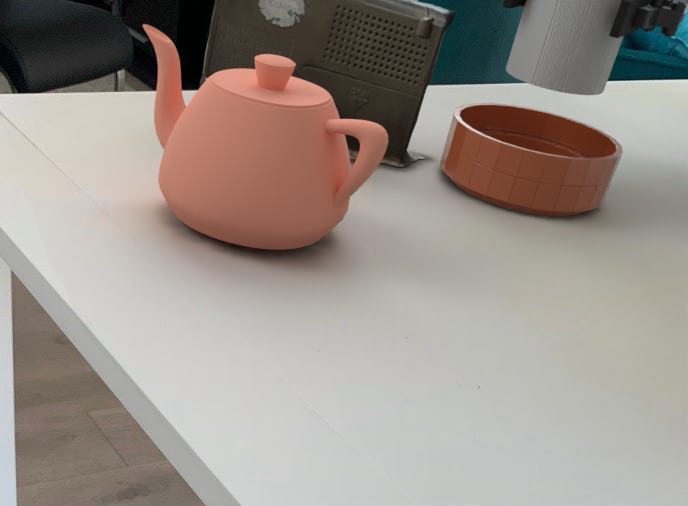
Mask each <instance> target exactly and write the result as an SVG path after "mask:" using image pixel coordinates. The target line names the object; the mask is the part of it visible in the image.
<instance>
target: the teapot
mask: <svg viewBox="0 0 688 506" xmlns="http://www.w3.org/2000/svg"><path fill="white" fill-rule="evenodd" d="M142 28H143V30H144V32H145V33H146V35H147V36H148V38H149V40H150V42H151V44H152V46H153V49H154V51H155V56H156V61H157V81H156V82H157V83H156V90H155V99H154V109H153V123H154V128H155V134H156V136H157V139H158V141H159V144H160V146H161V148H162V149H163V153H162V156H161V159H160V165H159V169H158V170H159V171H158V179H157V181H158V185H159V189H160V192H161V194H162V196H163V198H164V200H165V202H166V204H167V205H168V206H169V208H170V209H171V211H172V213H173V214H174V216H175V217H176V218H177V219H178V220H179V221H180V222H182V223H183V224H185V226H187V227H189V228H191V229H192V230H194V231H197V232H198V233H201V234H204V235H206V236H208V237H211V238H214V239H215V240H219V241H223V242H226V243H228V244H233V245H237V246H243V247H247V248H254V249H261V250H275V251H276V250H277V251H278V250H279V251H281V250H295V249H299V248H304V247H307V246H311V245H313V244H316V243H317V242H318V241H320V240H321V239H323V238H324V237H325V236H327V235H328V234H329V233H330V232H331V231H333V230H334V229H335V228H336V227H337V226H338V225H339V224H340V222H342V221H343V220H344V218H345V216H346V214H347V212H348V211H349V205H350V200H351V197H352V196H353V195H354V194H355V193H356V192H357V191H358V190H359V189H360V188H361V187H362V186H364V183H366V182H367V180H368V179H370V177H371V176H372V175H373V174H374V172H376V170H377V168H378V167H379V165H380V164H381V163H382V162H381V160H382V158H383V156H384V154H385V151H386V149H387V145H388V134H387V132H386V130H385V129H384V128H383V127H382V126H381V125H379V124H377V123H374V122H371V121H366V120H357V119H340V117H339V114H338V111H337V108H336V106H335V103H334V101H333V98H332V96H331V95H330V94H329V92H327V91H326V90H325V89H323V88H322V87H320V86H318V85H315V84H313V83H311V82H308V81H306V80H303V79H300V78H296V77H293V76H291V75H292V73H293V71H294V68H295V66H296V64H295V63H294V62H293V61H292V60H290V59H288V58H286V57H282V56H278V55H272V54H261V55H258V56H255V68H256V69H244V68H240V69H227V70H222V71H219V72H216V73H214V74H213V75H211V76H210V77H209V78H208V79H207V80H206V81H205V82H204V84H203V85H202V86H201V87H200V86H199V88H198V90H196V92H195V94H194V95H193V97H191V99H190V101H189V102H188V104H187V105H186V103H185V98H184V96H183V95H184V94H183V89H182V68H181V60H180V56H179V52H178V50H177V48H176V45H175V44H174V42H173V41H172V39H171V38H169V36H168V35H166V34H165V33H164V32H162V31H161V30H160V29H157V28H156V27H154V26H153V25H150V24H146V23H143V24H142ZM345 135H351V136H354V137H356V138H357V139H358V140H359V142H360V150H359V154H358V156H357V159H355V160H354V162H353V165H352V164H351V159H350V156H349V151H348V146H347V142H346V138H345ZM351 165H352V166H351Z"/></svg>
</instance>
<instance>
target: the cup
mask: <svg viewBox="0 0 688 506" xmlns="http://www.w3.org/2000/svg"><path fill="white" fill-rule="evenodd" d="M620 3H621V0H526V4H525V7H523V9H522V14H521V16H520V20H519V24H518V27H517V30H516V32H515V33H516V34H515V37H514V39H513V43H512V46H511V50H510V53H509V57H508V60H507V62H506V66H505V71H506V72H507V74H508V75H510V76H512V77H513V78H515V79H517V80H519V81H521V82H524V83H527V84H529V85H531V86H535V87H539V88H542V89H545V90H550V91H554V92H558V93H563V94H568V95H569V94H570V95H577V96H598V95H601V94H603V93H604V91H605V89H606V86H607V83H608V81H609V78H610V75H611V73H612V70H613V66H614V64H615V62H616V59H617V56H618V53H619V50H620V48H621V45H622V42H623V39H624V37H625V36H622V37H619V38H614V37H611V36H609V34H610V31H611V28H612V26H613V23H614V20H615V17H616V14H617V12H618V9H619V6H620Z"/></svg>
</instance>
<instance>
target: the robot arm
mask: <svg viewBox="0 0 688 506" xmlns="http://www.w3.org/2000/svg"><path fill="white" fill-rule="evenodd" d="M525 4H526V0H503V3H502V5H501V7H503V8H506V9H514V8H519V7H523V8H524V7H525ZM687 11H688V0H621V3H620V6H619V9H618V12H617V14H616V17H615V20H614V23H613V26H612V28H611V31H610V34H609V36H611V37H614V38H619V37H622V36H624V37H625V36H627V35H630V34H632V33H634V32H637V31H639V29H641V30H642V31H643V32H645V33H649V32H654V30H655V29H656V28H655V27H660V28H661V32H660V33H661V34H662V35H664V36H665V37H668V38H671V37H675V36H676V34H677V32H678V29H679V26H680V24H682V23H683V21H684V19H685V16H686V14H687Z"/></svg>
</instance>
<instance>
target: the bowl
mask: <svg viewBox="0 0 688 506" xmlns="http://www.w3.org/2000/svg"><path fill="white" fill-rule="evenodd" d="M623 154H624V149H623V146H622V144H620V142H619V141H617V139H616V138H614V137H612V136H611V135H610V134H607V133H606V132H605V131H602V130H601V129H598V128H596V127H594V126H592V125H590V124H587V123H584V122H581V121H578V120H576V119H574V118H570V117H567V116H564V115H561V114H556V113H553V112H549V111H546V110H541V109H537V108H531V107H527V106H520V105H515V104H507V103H498V102H497V103H495V102H494V103H493V102H476V103H475V102H473V103H468V104H462V105H460V106H458V107H456V108H455V109H454V112H453V116H452V119H451V122H450V126H449V129H448V133H447V138H446V140H445V144H444V146H443V151H442V155H441V159H440V162H439V167H440V168H441V170H442V172H443V173H444V174H445V175H446V176H447V177H449V178H450V180H451V181H452V182H453V184H455V185H456V186H457V187H458V188H459V189H461V190H463V191H464V192H466V193H467V194H469V195H471V196H473V197H475V198H478V199H480V200H482V201H485V202H487V203H490V204H493V205H495V206H498V207H501V208H505V209H509V210H513V211H517V212H522V213H527V214H532V215H533V214H534V215H541V216H550V217H551V216H552V217H567V216H575V215H579V214H582V213H584V212H589V211H593V210H595V209H598V208H599V207H601V206H602V204H604V202H605V200H606V197H607V194H608V192H609V189H610V187H611V184H612V182H613V179H614V176H615V174H616V171H617V169H618V167H619V164H620V161H621V159H622V156H623Z"/></svg>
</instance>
